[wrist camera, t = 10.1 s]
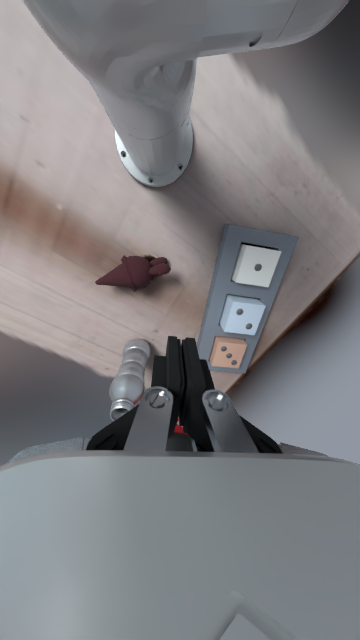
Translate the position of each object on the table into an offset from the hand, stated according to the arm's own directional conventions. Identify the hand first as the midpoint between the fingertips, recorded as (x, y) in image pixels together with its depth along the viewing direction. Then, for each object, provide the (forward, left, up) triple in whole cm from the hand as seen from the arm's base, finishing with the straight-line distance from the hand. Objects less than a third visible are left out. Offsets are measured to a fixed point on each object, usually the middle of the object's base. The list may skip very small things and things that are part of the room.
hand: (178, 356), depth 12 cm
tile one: (-3, +17, -31) cm, 36 cm away
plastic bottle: (+21, -5, -32) cm, 39 cm away
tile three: (+18, +17, -31) cm, 40 cm away
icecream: (+2, -7, -32) cm, 33 cm away
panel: (+7, +17, -32) cm, 36 cm away
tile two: (+7, +17, -30) cm, 35 cm away
